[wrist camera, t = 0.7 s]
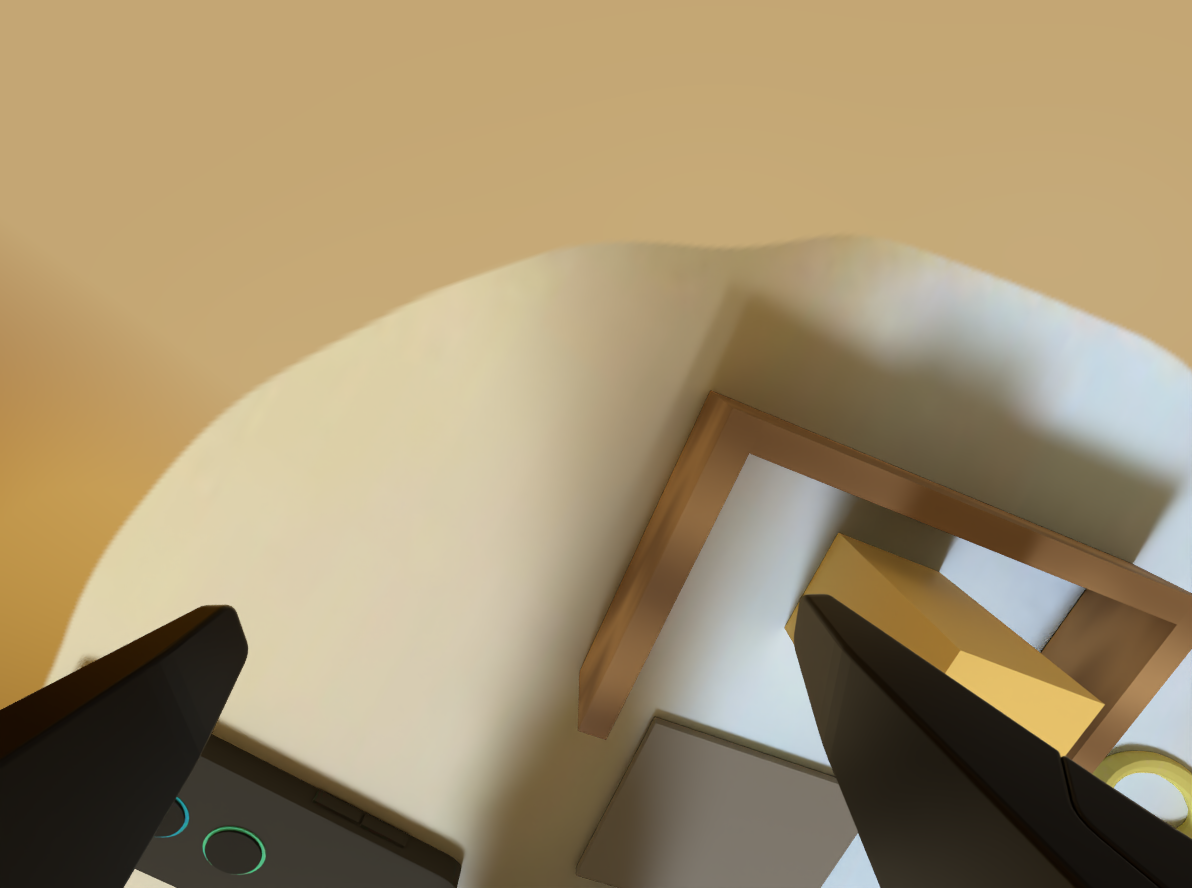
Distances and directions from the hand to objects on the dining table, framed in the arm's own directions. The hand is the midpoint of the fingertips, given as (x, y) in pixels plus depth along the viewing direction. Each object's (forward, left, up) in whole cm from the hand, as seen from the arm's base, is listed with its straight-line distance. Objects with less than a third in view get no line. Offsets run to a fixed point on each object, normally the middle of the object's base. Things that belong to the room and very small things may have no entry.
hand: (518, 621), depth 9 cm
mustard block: (-2, -15, -14) cm, 21 cm away
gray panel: (-17, -15, -14) cm, 26 cm away
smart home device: (-25, +7, -14) cm, 30 cm away
